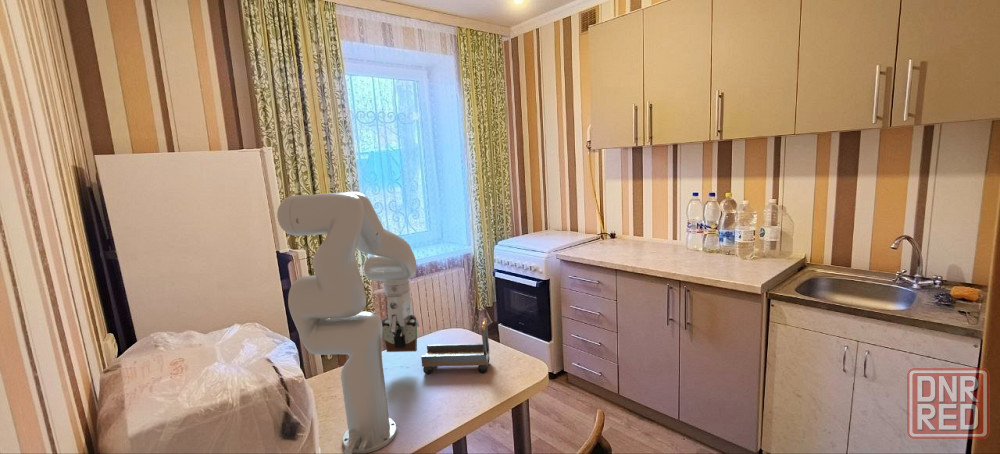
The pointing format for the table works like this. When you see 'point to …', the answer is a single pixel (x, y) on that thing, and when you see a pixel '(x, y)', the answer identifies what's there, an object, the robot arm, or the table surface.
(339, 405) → the table surface
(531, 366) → the table surface
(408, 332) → the food container
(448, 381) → the table surface
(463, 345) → the trolley
